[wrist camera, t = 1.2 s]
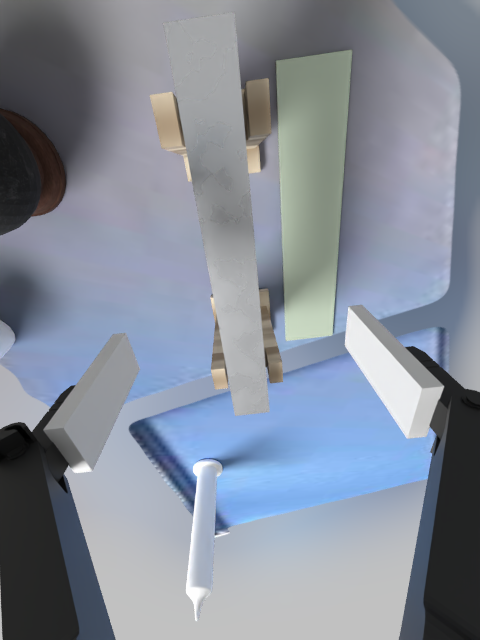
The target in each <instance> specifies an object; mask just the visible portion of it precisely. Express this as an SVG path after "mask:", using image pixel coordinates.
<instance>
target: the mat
mask: <svg viewBox="0 0 480 640" xmlns="http://www.w3.org/2000/svg"><path fill="white" fill-rule="evenodd" d="M351 62H352V50H346V51H339V52H332V53H325V54H318V55H311V56H304V57H298V58H291V59H284V60H277V61H276V88H277V115H278V143H279V171H280V198H281V226H282V253H283V281H284V309H285V336H286V341H289V340H298V339H306V338H315V337H324V336H332V333H333V318H334V304H335V290H336V276H337V261H338V247H339V233H340V218H341V204H342V190H343V176H344V161H345V147H346V133H347V119H348V104H349V90H350V76H351Z"/></svg>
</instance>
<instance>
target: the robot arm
mask: <svg viewBox="0 0 480 640" xmlns="http://www.w3.org/2000/svg"><path fill="white" fill-rule="evenodd" d="M345 347H346V348H347V350H348V351H349V353H350V354H351V355H352V357H353V358H354V360H355V361H356V363H357V364H358V366H359V367H360V369H361V370H362V372H363V373H364V375H365V376H366V378H367V379H368V381H369V382H370V384H371V385H372V387H373V388H374V390H375V391H376V393H377V394H378V396H379V397H380V399H381V400H382V402H383V403H384V405H385V406H386V408H387V409H388V411H389V412H390V414H391V415H392V417H393V418H394V420H395V421H396V423H397V424H398V426H399V427H400V428H401V430H402V431H403V433H404V434H405V436H406V437H407V439H408V438H418V437H426V436H427V433H428V431H429V428H430V427H431V428H432V430H433V431H434V432H435V433H436V435H437V436H436V438H435V441H434V443H433V446H432V449H431V451H430V452H431V453H432V458H431V464H430V470H429V475H428V481H427V486H426V493H425V498H424V504H423V509H422V515H421V520H420V526H419V532H418V537H417V543H416V548H415V554H414V559H413V565H412V571H411V576H410V582H409V587H408V593H407V599H406V604H405V610H404V616H403V621H402V627H401V632H400V637H399V640H480V392H477V391H474V390H469V389H464V388H463V387H462V386H461V385H460V384H459V383H458V382H457V381H455V380H454V379H453V378H452V377H451V376H450V375H449V374H448V373H447V372H446V371H445V370H444V369H443V368H441V367H439V365H438V364H437V363H436V362H435V361H433V359H432V358H430V357H429V356H428V355H427V354H426V353H425V352H423V351H421V350H419V349H418V348H416V347H414V346H411V347H404V346H403V345H402V344H401V343H400V342H399V341H398V340H397V339H396V338H395V337H394V336H393V335H392V334H391V333H390V332H389V331H388V330H387V329H386V328H385V327H384V326H383V325H382V324H381V323H380V322H379V321H378V320H377V319H376V318H375V317H374V316H373V315H372V314H371V313H370V312H369V311H368V310H367V309H366V308H365V307H364V306H363V305H356V306H349V307H348V317H347V328H346V338H345ZM139 370H140V368H139V365H138V363H137V360H136V358H135V355H134V353H133V350H132V347H131V345H130V342H129V340H128V337H127V335H126V333H121V334H113V335H112V337H111V338H110V339H109V341H108V342H107V343H106V345H105V346H104V348H103V349H102V350H101V352H100V353H99V354H98V356H97V357H96V358H95V360H94V361H93V363H92V364H91V365H90V367H89V368H88V369H87V371H86V372H85V373H84V375H83V376H82V378H81V379H80V380H79V382H78V383H77V384H76V385H74V386H70V387H69V388H68V389H67V390H65V391H64V392H63V393H62V394H61V395H60V396H59V397H58V399H57V400H56V401H55V404H53V405H52V407H51V408H50V409H49V412H47V413H46V414H45V416H44V417H43V418H42V420H41V421H40V422H39V424H38V425H37V426H36V427H35V429H34V430H33V432H31V431H30V430H29V428H28V427H27V426H26V424H25V423H21V422H18V423H13V424H10V425H8V426H5V427H3V428H2V429H0V585H1V610H2V635H3V640H115V636H114V633H113V629H112V626H111V623H110V619H109V616H108V613H107V609H106V606H105V603H104V600H103V596H102V593H101V590H100V586H99V583H98V580H97V576H96V573H95V570H94V566H93V563H92V560H91V556H90V553H89V550H88V547H87V543H86V540H85V536H84V533H83V530H82V527H81V524H80V520H79V517H78V513H77V510H76V507H75V503H74V500H73V497H72V493H71V491H70V487H69V483H68V480H67V478H66V477H65V475H64V472H65V470H66V469H67V467H68V465H69V466H70V467H71V469H72V470H73V471H74V473H81V472H91V471H93V469H94V467H95V465H96V463H97V460H98V458H99V456H100V454H101V452H102V450H103V447H104V445H105V443H106V441H107V439H108V437H109V435H110V432H111V430H112V428H113V426H114V423H115V422H116V419H117V417H118V415H119V413H120V411H121V409H122V406H123V404H124V402H125V400H126V398H127V396H128V394H129V391H130V389H131V387H132V385H133V383H134V381H135V378H136V376H137V374H138V372H139Z"/></svg>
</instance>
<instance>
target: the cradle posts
mask: <svg viewBox="0 0 480 640" xmlns="http://www.w3.org/2000/svg"><path fill="white" fill-rule="evenodd" d="M241 92H242V104H243V115H244V127H245V138H246V149H247V161H248V172H249V173H256V172H261V171H260V156H259V144H260V143H261V142H262V141H263V140H264V139H265V138H266V137H268V136H269V135H270V134H271V117H270V96H269V78H265V79H258V80H251V81H246V85H245V89H241ZM150 98H151V103H152V107H153V112H154V116H155V121H156V125H157V130H158V134H159V139H160V143H161V148H162V149H165V150H168V151H171V152H174V153H177V154H180V155H183V156H184V161H185V166H186V172H187V177H188V182H189V181H192V178H191V173H190V168H189V162H188V157H187V151H186V146H185V140H184V135H183V130H182V124H181V119H180V113H179V108H178V102H177V98H176V97H175V96H174V94H173V93H172V92H168V93H161V94H154V95H150ZM259 298H260V309H261V321H262V332H263V343H264V355H265V366H266V367H267V369H268V374H269V380H270V383H277V382H283V373H282V360H281V356H280V353H279V349H278V346H277V342H276V338H275V335H274V331H273V328H272V324H271V319H270V304H269V291H268V288H267V289H259ZM211 303H212V308H213V314H214V319H215V332H214V343H213V354H212V365H211V372H212V377H213V381H214V386H215V389H223V388H228V374H227V369H226V363H225V358H224V352H223V347H222V342H221V336H220V331H219V325H218V320H217V314H216V309H215V304H214V298H213V295H211Z"/></svg>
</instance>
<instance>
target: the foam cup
mask: <svg viewBox="0 0 480 640" xmlns="http://www.w3.org/2000/svg"><path fill="white" fill-rule="evenodd" d="M14 342H15V334H14V332H13V331H12V329H11V328H10V327H9V326H8V325H7V324H5V323H4V322H2V321H1V320H0V359H1V358H2V357H3V356H4V355H5V354H6V353H7V351H8V350H9V349H10V348H11V346H13V344H14Z"/></svg>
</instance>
